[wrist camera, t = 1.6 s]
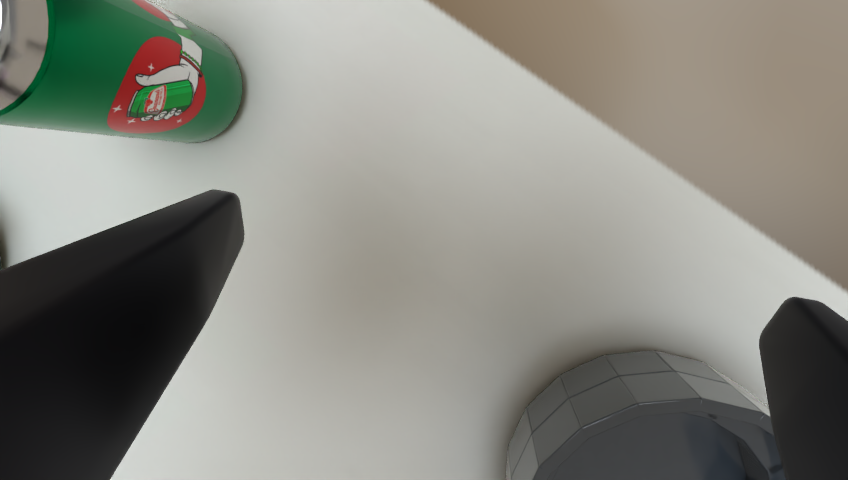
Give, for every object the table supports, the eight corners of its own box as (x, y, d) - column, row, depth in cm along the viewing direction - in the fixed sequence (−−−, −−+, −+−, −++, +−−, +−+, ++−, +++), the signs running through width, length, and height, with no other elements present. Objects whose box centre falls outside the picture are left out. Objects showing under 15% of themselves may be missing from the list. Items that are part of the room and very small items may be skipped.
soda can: (124, 59, 24) (-221, -51, 12) (218, 10, 23) (-51, -158, 11) (172, 161, 24) (-117, 151, 12) (266, 116, 24) (53, 60, 12)
